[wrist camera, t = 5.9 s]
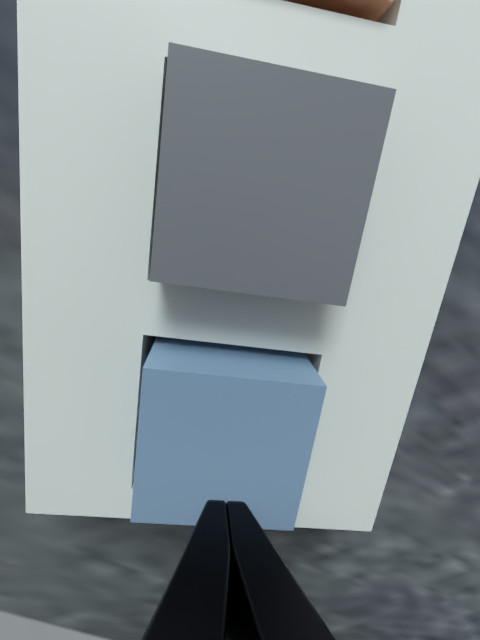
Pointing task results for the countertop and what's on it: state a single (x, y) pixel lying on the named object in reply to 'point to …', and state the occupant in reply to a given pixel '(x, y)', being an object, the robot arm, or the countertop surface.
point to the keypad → (215, 305)
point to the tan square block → (350, 7)
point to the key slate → (224, 431)
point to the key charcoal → (264, 176)
